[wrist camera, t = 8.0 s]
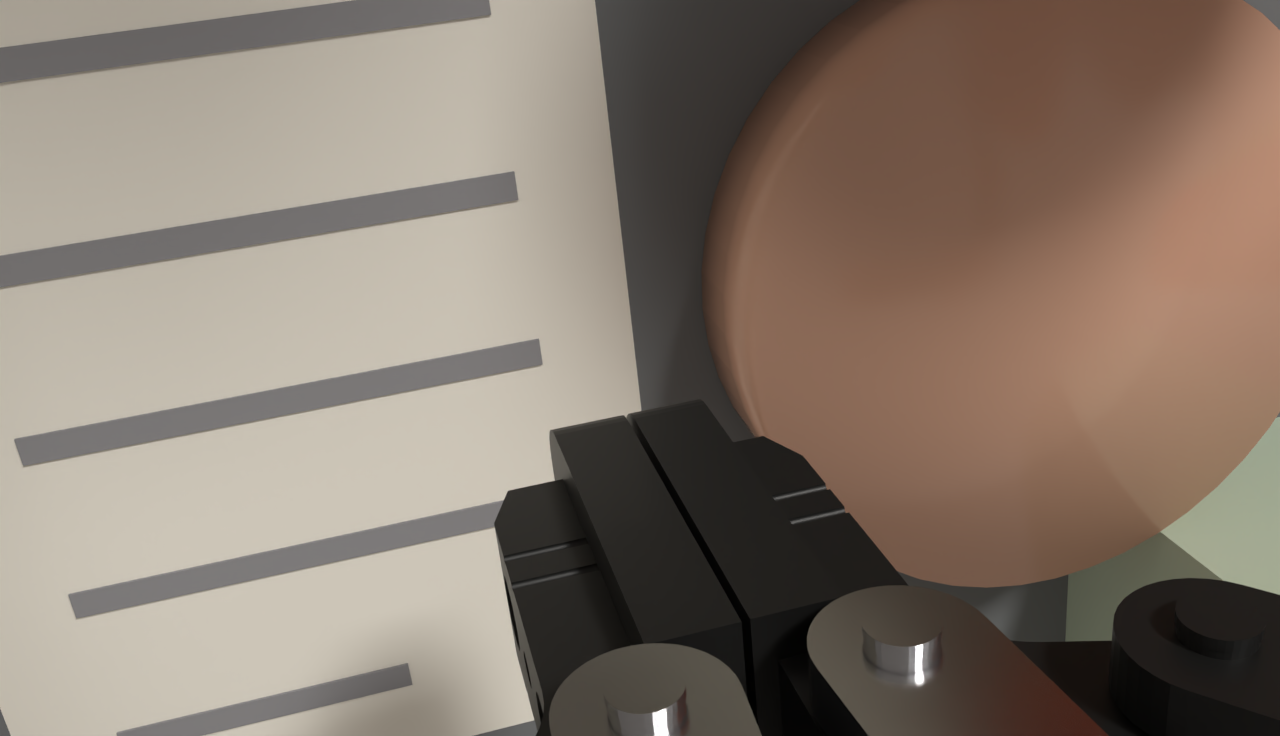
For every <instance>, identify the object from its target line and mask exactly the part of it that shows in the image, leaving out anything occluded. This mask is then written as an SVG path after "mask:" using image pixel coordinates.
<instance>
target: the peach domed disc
mask: <svg viewBox="0 0 1280 736" xmlns="http://www.w3.org/2000/svg"><path fill="white" fill-rule="evenodd" d="M701 273H702V308H703V315H704V321H705V327H706V333H707V339H708V345H709V348H710V351H711V354H712V358H713V361H714V364H715V367H716V370H717V373H718V377H719V379H720V381H721V383H722V385H723V387H724V389H725V391H726V393H727V395H728V397H729V400H730V402H731V404H732V406H733V408H734V409H735V411H736V412H737V413H738V415H739V416H740V418H741V419H742V421H743V422H744V424H745V425H746V426H747V428H748V429H749V431H750V432H751V434H752V435H753V436H754V438H756V437H760V436H764V437H766V438H768V439H770V440H772V441H774V442H776V443H778V444H780V445H782V446H784V447H786V448H788V449H790V450H792V451H794V452H797V453H799V454H801V455H803V456H804V458H805V459H806V460H807V461H808V463H809V464H810V465H811V466H812V467H813V469H814V470H815V471H816V472H817V474H818V475H819V476H820V477H821V479H822V480H823V481H824V482H825V483H826V488H827V490H828V489H830V490H831V491H832V492H833V493H834V494H835V496H836V497H837V498H838V499H839V501H840V502H841V503H842V504H843V506H844V508H845V512H846V513H850V514H851V515H852V517H853V518H854V519H855V520H856V521H857V523H858V524H859V525H860V526H861V528H862V529H863V530H864V531H865V533H866V534H867V535H868V536H869V537H870V539H871V540H872V541H873V542H874V544H875V545H876V546H877V547H878V548H879V550H880V551H881V552H882V553H883V555H884V556H885V557H886V558H887V560H888V561H889V562H890V563H891V564H892V566H893V567H894V568H895V569H896V571H898V572H901V573H904V574H907V575H909V576H912V577H915V578H918V579H921V580H926V581H931V582H936V583H942V584H947V585H952V586H967V587H985V588H988V587H1002V586H1016V585H1024V584H1029V583H1035V582H1040V581H1045V580H1050V579H1055V578H1058V577H1062V576H1065V575H1068V574H1071V573H1074V572H1077V571H1081V570H1084V569H1087V568H1090V567H1092V566H1095V565H1097V564H1099V563H1101V562H1104V561H1106V560H1108V559H1111V558H1113V557H1115V556H1117V555H1120V554H1122V553H1124V552H1126V551H1128V550H1129V549H1131V548H1133V547H1135V546H1136V545H1138V544H1140V543H1142V542H1144V541H1145V540H1147V539H1149V538H1151V537H1152V536H1154V535H1156V534H1157V533H1159V532H1160V531H1162V530H1163V529H1165V528H1166V527H1167V526H1169V525H1170V524H1172V523H1173V522H1174V521H1176V520H1177V519H1179V518H1180V517H1182V516H1183V515H1184V514H1186V513H1187V512H1189V511H1190V510H1191V509H1192V508H1193V507H1194V506H1196V505H1197V504H1198V503H1199V502H1200V501H1201V500H1203V499H1204V498H1205V497H1206V496H1207V495H1208V494H1210V493H1211V492H1212V491H1213V490H1214V489H1215V488H1217V487H1218V486H1219V485H1220V484H1221V482H1222V481H1223V480H1224V479H1225V478H1226V477H1227V476H1228V475H1229V474H1230V473H1231V472H1232V471H1233V470H1234V469H1235V468H1236V467H1237V466H1238V465H1239V464H1240V463H1241V462H1242V461H1243V460H1244V459H1245V457H1246V456H1247V455H1248V454H1249V453H1250V451H1251V450H1252V449H1253V448H1254V446H1255V445H1256V444H1257V443H1258V441H1259V440H1260V439H1261V438H1262V436H1263V435H1264V434H1265V433H1266V431H1267V430H1268V429H1269V428H1270V426H1271V425H1272V423H1273V422H1274V420H1275V419H1276V417H1277V415H1278V414H1279V412H1280V30H1279V29H1278V28H1277V27H1276V26H1275V25H1274V24H1273V23H1272V22H1271V21H1270V20H1269V19H1268V18H1267V17H1266V16H1265V15H1264V14H1263V13H1261V12H1260V11H1258V10H1257V9H1255V8H1254V7H1252V6H1251V5H1249V4H1248V3H1246V2H1245V1H1243V0H859V1H858V2H857V3H855V4H854V5H852V6H851V7H850V8H848V9H847V10H845V11H844V12H843V13H841V14H840V15H838V16H837V17H836V18H834V19H833V20H831V21H830V22H829V23H828V24H827V25H826V26H825V27H824V28H822V29H821V30H820V31H819V32H818V33H817V34H816V35H815V36H814V37H813V38H812V39H811V40H809V41H808V42H807V43H806V44H805V45H804V46H803V47H802V48H801V49H800V50H799V51H798V52H797V53H796V54H795V55H794V57H793V58H792V59H791V60H790V61H789V62H788V64H787V65H786V66H785V67H784V68H783V69H782V71H781V72H780V73H779V74H778V75H777V76H776V78H775V79H774V80H773V81H772V82H771V84H770V85H769V87H768V88H767V90H766V91H765V93H764V94H763V96H762V97H761V99H760V100H759V102H758V103H757V105H756V106H755V108H754V109H753V111H752V112H751V114H750V115H749V117H748V118H747V120H746V122H745V124H744V126H743V128H742V130H741V132H740V134H739V136H738V138H737V140H736V142H735V144H734V146H733V148H732V150H731V152H730V154H729V156H728V159H727V161H726V164H725V167H724V170H723V172H722V175H721V178H720V180H719V183H718V186H717V189H716V191H715V194H714V198H713V203H712V207H711V211H710V216H709V220H708V224H707V229H706V233H705V242H704V252H703V262H702V272H701Z"/></svg>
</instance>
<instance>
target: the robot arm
mask: <svg viewBox="0 0 1280 736" xmlns="http://www.w3.org/2000/svg"><path fill="white" fill-rule="evenodd" d="M549 440H550V451H551V459H552V465H553V472H554V479H555V481H551V482H546V483H542V484H537V485H532V486H528V487H523V488H518V489H514V490H509V491H508V492H507V494H506V496H505V499H504V501H503V503H502V506H501V508H500V510H499V513H498V515H497V517H496V520H495V522H494V526H495V532H496V538H497V544H498V549H499V555H500V561H501V567H502V572H503V578H504V584H505V590H506V595H507V601H508V607H509V613H510V618H511V624H512V630H513V635H514V641H515V647H516V653H517V657H518V661H519V665H520V668H521V672H522V676H523V679H524V683H525V687H526V691H527V693H528V698H529V702H530V706H531V709H532V713H533V717H534V720H535V723H536V727H537V734H536V736H1280V595H1278V594H1275V593H1271V592H1267V591H1264V590H1260V589H1256V588H1252V587H1249V586H1245V585H1241V584H1236V583H1232V582H1228V581H1221V580H1214V579H1203V578H1181V579H1171V580H1165V581H1159V582H1155V583H1152V584H1149V585H1146V586H1143V587H1141V588H1139V589H1137V590H1135V591H1133V592H1132V593H1131V594H1129V595H1128V596H1126V597H1125V598H1124V599H1123V600H1122V602H1121V603H1120V604H1119V605H1118V607H1117V609H1116V611H1115V614H1114V620H1113V631H1112V641H1064V642H1024V641H1013V640H1009V639H1008V638H1007V637H1006V636H1005V635H1004V634H1003V633H1002V632H1001V631H1000V630H999V629H998V628H997V627H996V626H995V625H994V624H993V623H992V622H991V621H990V620H989V619H988V618H987V617H986V616H985V615H983V614H982V613H981V612H980V611H979V610H977V609H976V608H975V607H973V606H972V605H970V604H968V603H967V602H965V601H963V600H961V599H959V598H957V597H955V596H952V595H950V594H947V593H944V592H940V591H937V590H934V589H929V588H923V587H918V586H909V585H908V584H907V583H906V582H905V580H904V579H903V578H902V577H901V575H900V574H899V573H898V572H897V571H896V569H895V568H894V567H893V566H892V564H891V563H890V562H889V561H888V560H887V558H886V557H885V556H884V555H883V553H882V552H881V551H880V550H879V548H878V547H877V546H876V545H875V544H874V542H873V541H872V540H871V539H870V537H869V536H868V535H867V534H866V533H865V531H864V530H863V529H862V528H861V526H860V525H859V524H858V523H857V521H856V520H855V519H854V518H853V517H852V515H851V514H850V513H846V512H845V508H844V506H843V504H842V503H841V502H840V501H839V499H838V498H837V497H836V496H835V494H834V493H833V492H832V491H831V490H830V489H828V490H827V488H826V483H825V482H824V481H823V480H822V479H821V477H820V476H819V475H818V474H817V472H816V471H815V470H814V469H813V467H812V466H811V465H810V464H809V463H808V461H807V460H806V459H805V458H804V456H803V455H801V454H799V453H797V452H794V451H792V450H790V449H788V448H786V447H784V446H782V445H780V444H778V443H776V442H774V441H772V440H770V439H768V438H766V437H764V436H760V437H756V438H751V439H746V440H742V441H737V442H733V441H732V440H731V439H730V437H729V436H728V434H727V433H726V432H725V430H724V429H723V427H722V426H721V425H720V423H719V422H718V420H717V419H716V418H715V416H714V415H713V413H712V412H711V411H710V409H709V408H708V406H707V405H706V404H705V403H704V401H702V400H701V399H697V400H692V401H687V402H683V403H678V404H673V405H668V406H663V407H658V408H653V409H649V410H644V411H639V412H634V413H629V414H628V415H627V418H626V417H625V416H624V415H621V416H616V417H611V418H606V419H601V420H596V421H591V422H587V423H582V424H577V425H572V426H567V427H562V428H557V429H553V430H550V434H549Z"/></svg>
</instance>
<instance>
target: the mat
mask: <svg viewBox="0 0 1280 736" xmlns="http://www.w3.org/2000/svg"><path fill="white" fill-rule="evenodd" d="M858 1H859V0H0V736H536V734H537V727H536V723H535V720H534V717H533V713H532V709H531V706H530V702H529V698H528V693H527V691H526V687H525V683H524V679H523V676H522V672H521V668H520V665H519V661H518V657H517V653H516V647H515V641H514V635H513V630H512V624H511V618H510V613H509V607H508V601H507V595H506V590H505V584H504V578H503V572H502V567H501V561H500V555H499V549H498V544H497V538H496V532H495V526H494V522H495V520H496V517H497V515H498V513H499V510H500V508H501V506H502V503H503V501H504V499H505V496H506V494H507V492H508V491H509V490H514V489H518V488H523V487H528V486H532V485H537V484H542V483H546V482H551V481H555V479H554V472H553V465H552V459H551V451H550V440H549V434H550V430H553V429H557V428H562V427H567V426H572V425H577V424H582V423H587V422H591V421H596V420H601V419H606V418H611V417H616V416H621V415H624V416H625V417H626V418H627V415H628V414H629V413H634V412H639V411H644V410H649V409H653V408H658V407H663V406H668V405H673V404H678V403H683V402H687V401H692V400H697V399H701V400H702V401H704V403H705V404H706V405H707V406H708V408H709V409H710V411H711V412H712V413H713V415H714V416H715V418H716V419H717V420H718V422H719V423H720V425H721V426H722V427H723V429H724V430H725V432H726V433H727V434H728V436H729V437H730V439H731V440H732V441H733V442H737V441H742V440H746V439H751V438H754V436H753V435H752V434H751V432H750V431H749V429H748V428H747V426H746V425H745V424H744V422H743V421H742V419H741V418H740V416H739V415H738V413H737V412H736V411H735V409H734V408H733V406H732V404H731V402H730V400H729V397H728V395H727V393H726V391H725V389H724V387H723V385H722V383H721V381H720V379H719V377H718V373H717V370H716V367H715V364H714V361H713V358H712V354H711V351H710V348H709V345H708V339H707V333H706V327H705V321H704V315H703V308H702V273H701V272H702V262H703V252H704V242H705V233H706V229H707V224H708V220H709V216H710V211H711V207H712V203H713V198H714V194H715V191H716V189H717V186H718V183H719V180H720V178H721V175H722V172H723V170H724V167H725V164H726V161H727V159H728V156H729V154H730V152H731V150H732V148H733V146H734V144H735V142H736V140H737V138H738V136H739V134H740V132H741V130H742V128H743V126H744V124H745V122H746V120H747V118H748V117H749V115H750V114H751V112H752V111H753V109H754V108H755V106H756V105H757V103H758V102H759V100H760V99H761V97H762V96H763V94H764V93H765V91H766V90H767V88H768V87H769V85H770V84H771V82H772V81H773V80H774V79H775V78H776V76H777V75H778V74H779V73H780V72H781V71H782V69H783V68H784V67H785V66H786V65H787V64H788V62H789V61H790V60H791V59H792V58H793V57H794V55H795V54H796V53H797V52H798V51H799V50H800V49H801V48H802V47H803V46H804V45H805V44H806V43H807V42H808V41H809V40H811V39H812V38H813V37H814V36H815V35H816V34H817V33H818V32H819V31H820V30H821V29H822V28H824V27H825V26H826V25H827V24H828V23H829V22H830V21H831V20H833V19H834V18H836V17H837V16H838V15H840V14H841V13H843V12H844V11H845V10H847V9H848V8H850V7H851V6H852V5H854V4H855V3H857V2H858ZM1243 1H1245V2H1246V3H1248V4H1249V5H1251V6H1252V7H1254V8H1255V9H1257V10H1258V11H1260V12H1261V13H1263V14H1264V15H1265V16H1266V17H1267V18H1268V19H1269V20H1270V21H1271V22H1272V23H1273V24H1274V25H1275V26H1276V27H1277V28H1278V29H1279V30H1280V0H1243ZM1277 417H1280V412H1279V414H1278V415H1277ZM1277 417H1276V418H1277ZM897 572H898V571H897ZM898 573H899V574H900V575H901V577H902V578H903V579H904V580H905V582H906V583H907V584H908V585H909V586H918V587H923V588H929V589H934V590H937V591H940V592H944V593H947V594H950V595H952V596H955V597H957V598H959V599H961V600H963V601H965V602H967V603H968V604H970V605H972V606H973V607H975V608H976V609H977V610H979V611H980V612H981V613H982V614H983V615H985V616H986V617H987V618H988V619H989V620H990V621H991V622H992V623H993V624H994V625H995V626H996V627H997V628H998V629H999V630H1000V631H1001V632H1002V633H1003V634H1004V635H1005V636H1006V637H1007V638H1008V639H1009V640H1013V641H1024V642H1064V641H1065V637H1066V616H1067V594H1068V575H1065V576H1062V577H1058V578H1055V579H1050V580H1045V581H1040V582H1035V583H1029V584H1024V585H1016V586H1002V587H988V588H985V587H967V586H952V585H947V584H942V583H936V582H931V581H926V580H921V579H918V578H915V577H912V576H909V575H907V574H904V573H901V572H898Z"/></svg>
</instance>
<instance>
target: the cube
mask: <svg viewBox="0 0 1280 736" xmlns="http://www.w3.org/2000/svg"><path fill="white" fill-rule="evenodd" d="M1181 578H1203V579H1214V580H1221V581H1228V582H1232V583H1236V584H1241V585H1245V586H1249V587H1252V588H1256V589H1260V590H1264V591H1267V592H1271V593H1275V594H1278V595H1280V417H1277V418H1276V419H1275V420H1274V422H1273V423H1272V425H1271V426H1270V428H1269V429H1268V430H1267V431H1266V433H1265V434H1264V435H1263V436H1262V438H1261V439H1260V440H1259V441H1258V443H1257V444H1256V445H1255V446H1254V448H1253V449H1252V450H1251V451H1250V453H1249V454H1248V455H1247V456H1246V457H1245V459H1244V460H1243V461H1242V462H1241V463H1240V464H1239V465H1238V466H1237V467H1236V468H1235V469H1234V470H1233V471H1232V472H1231V473H1230V474H1229V475H1228V476H1227V477H1226V478H1225V479H1224V480H1223V481H1222V482H1221V484H1220V485H1219V486H1218V487H1217V488H1215V489H1214V490H1213V491H1212V492H1211V493H1210V494H1208V495H1207V496H1206V497H1205V498H1204V499H1203V500H1201V501H1200V502H1199V503H1198V504H1197V505H1196V506H1194V507H1193V508H1192V509H1191V510H1190V511H1189V512H1187V513H1186V514H1184V515H1183V516H1182V517H1180V518H1179V519H1177V520H1176V521H1174V522H1173V523H1172V524H1170V525H1169V526H1167V527H1166V528H1165V529H1163V530H1162V531H1160V532H1159V533H1157V534H1156V535H1154V536H1152V537H1151V538H1149V539H1147V540H1145V541H1144V542H1142V543H1140V544H1138V545H1136V546H1135V547H1133V548H1131V549H1129V550H1128V551H1126V552H1124V553H1122V554H1120V555H1117V556H1115V557H1113V558H1111V559H1108V560H1106V561H1104V562H1101V563H1099V564H1097V565H1095V566H1092V567H1090V568H1087V569H1084V570H1081V571H1077V572H1074V573H1071V574H1068V594H1067V616H1066V637H1065V641H1112V631H1113V620H1114V614H1115V611H1116V609H1117V607H1118V605H1119V604H1120V603H1121V602H1122V600H1123V599H1124V598H1125V597H1126V596H1128V595H1129V594H1131V593H1132V592H1133V591H1135V590H1137V589H1139V588H1141V587H1143V586H1146V585H1149V584H1152V583H1155V582H1159V581H1165V580H1171V579H1181Z"/></svg>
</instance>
